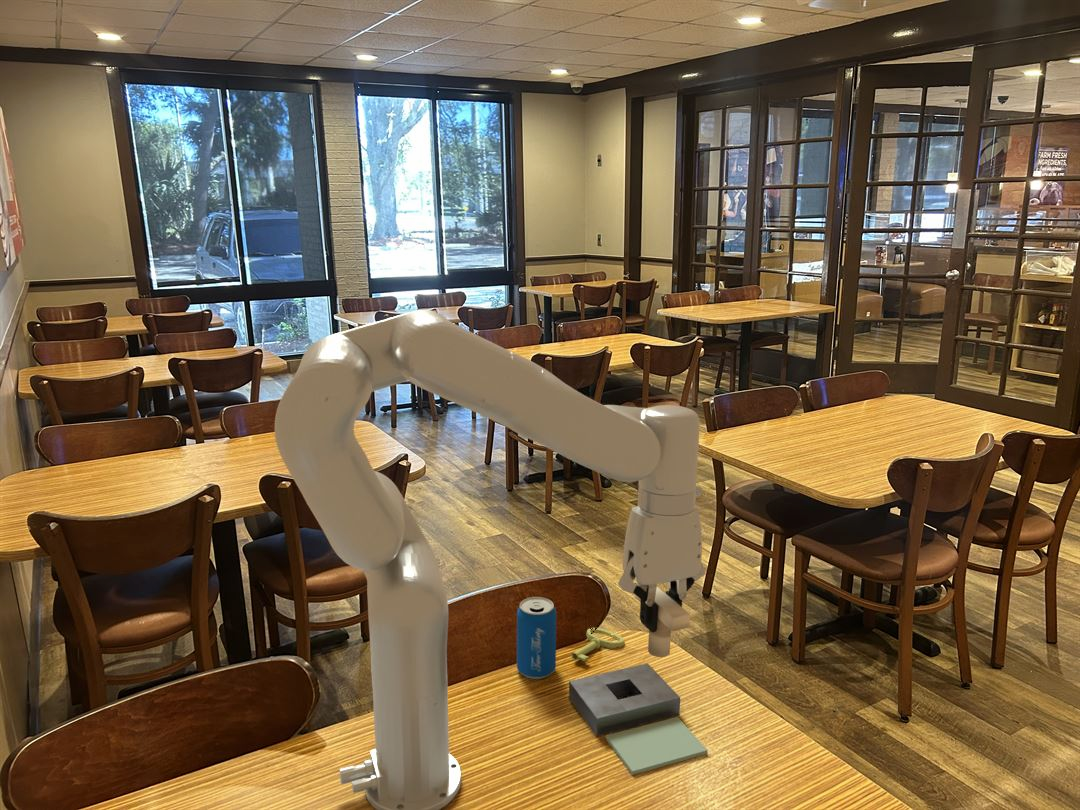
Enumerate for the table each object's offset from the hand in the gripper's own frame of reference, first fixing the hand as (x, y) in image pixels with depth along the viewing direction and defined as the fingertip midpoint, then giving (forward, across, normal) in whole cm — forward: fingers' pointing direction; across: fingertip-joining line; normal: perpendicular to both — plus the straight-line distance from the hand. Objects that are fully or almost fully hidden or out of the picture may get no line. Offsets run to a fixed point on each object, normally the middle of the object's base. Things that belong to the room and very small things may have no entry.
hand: (660, 623), depth 106 cm
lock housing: (+19, 0, -10) cm, 21 cm away
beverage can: (+19, +9, -24) cm, 32 cm away
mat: (+19, 0, 0) cm, 19 cm away
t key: (+4, 0, 0) cm, 4 cm away
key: (+20, -4, -27) cm, 34 cm away
